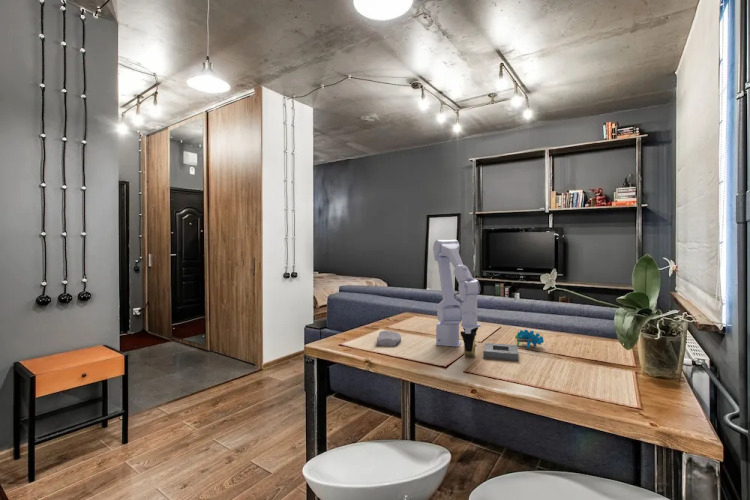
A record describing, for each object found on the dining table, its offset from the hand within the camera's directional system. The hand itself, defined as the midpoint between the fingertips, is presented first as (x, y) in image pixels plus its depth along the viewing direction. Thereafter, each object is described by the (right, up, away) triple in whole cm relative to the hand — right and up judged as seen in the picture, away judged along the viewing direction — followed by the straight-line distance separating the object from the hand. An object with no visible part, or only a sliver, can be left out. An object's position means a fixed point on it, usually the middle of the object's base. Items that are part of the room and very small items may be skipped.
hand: (469, 348), depth 135 cm
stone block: (-29, -3, +20) cm, 35 cm away
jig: (+12, -3, +1) cm, 12 cm away
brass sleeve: (0, -3, 0) cm, 3 cm away
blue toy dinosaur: (+27, -3, +11) cm, 30 cm away
